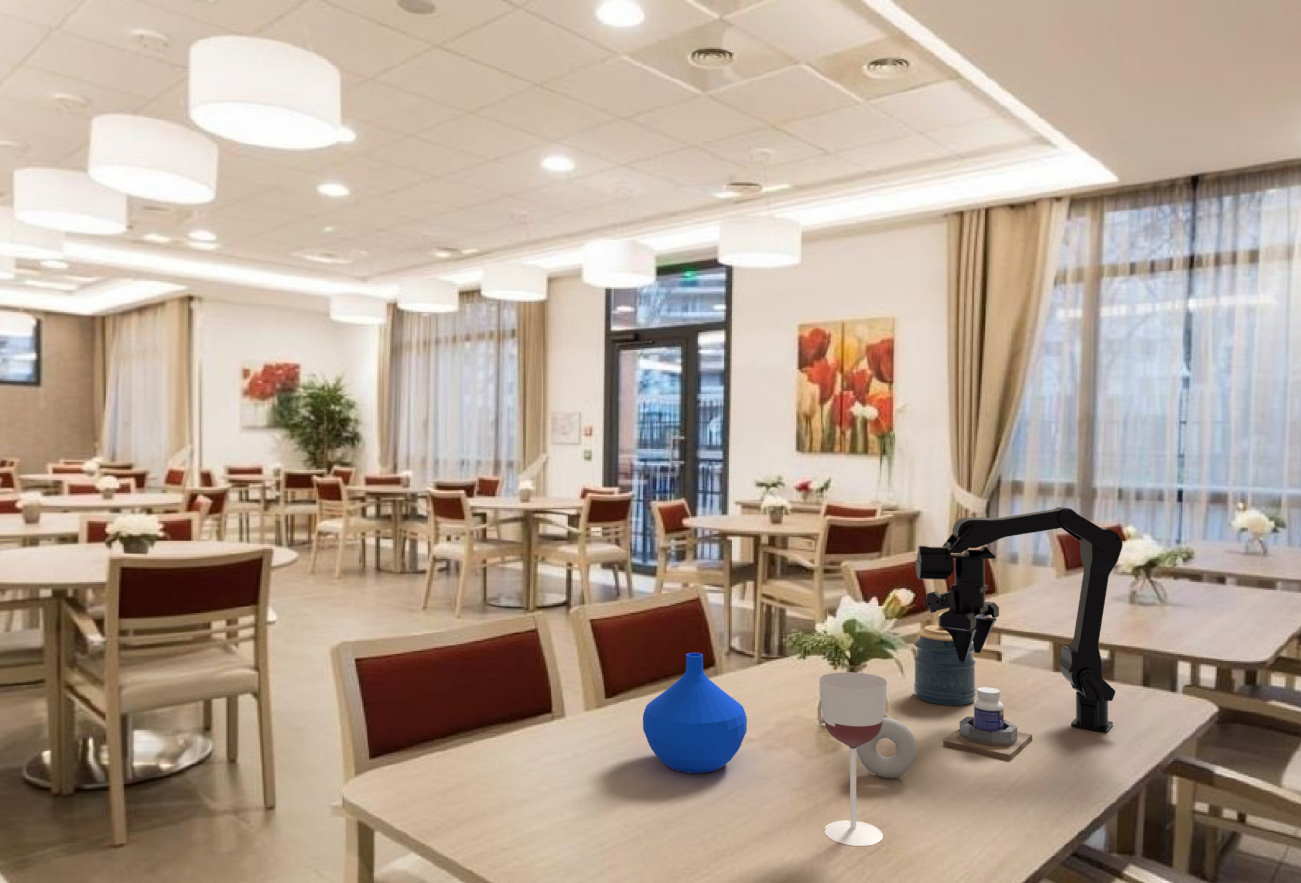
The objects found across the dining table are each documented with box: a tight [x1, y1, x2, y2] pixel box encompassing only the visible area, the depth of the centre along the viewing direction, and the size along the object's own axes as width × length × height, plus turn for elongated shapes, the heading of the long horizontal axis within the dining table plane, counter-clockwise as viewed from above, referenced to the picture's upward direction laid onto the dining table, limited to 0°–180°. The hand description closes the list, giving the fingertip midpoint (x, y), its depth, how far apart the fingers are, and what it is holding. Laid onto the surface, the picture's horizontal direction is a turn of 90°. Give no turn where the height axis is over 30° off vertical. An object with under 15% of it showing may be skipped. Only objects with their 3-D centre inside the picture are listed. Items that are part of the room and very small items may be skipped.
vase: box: [642, 652, 748, 774], centre depth 153 cm, size 18×18×19 cm
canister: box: [913, 621, 977, 706], centre depth 192 cm, size 13×13×18 cm
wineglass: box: [819, 671, 888, 847], centre depth 125 cm, size 9×10×22 cm
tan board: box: [942, 728, 1033, 761], centre depth 163 cm, size 14×12×1 cm
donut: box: [856, 716, 918, 779], centre depth 146 cm, size 10×4×10 cm, turn 71°
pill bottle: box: [973, 686, 1005, 730], centre depth 163 cm, size 5×5×9 cm
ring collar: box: [959, 716, 1018, 746], centre depth 163 cm, size 9×9×2 cm
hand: (970, 657), depth 176 cm, fingers open, 9 cm apart
